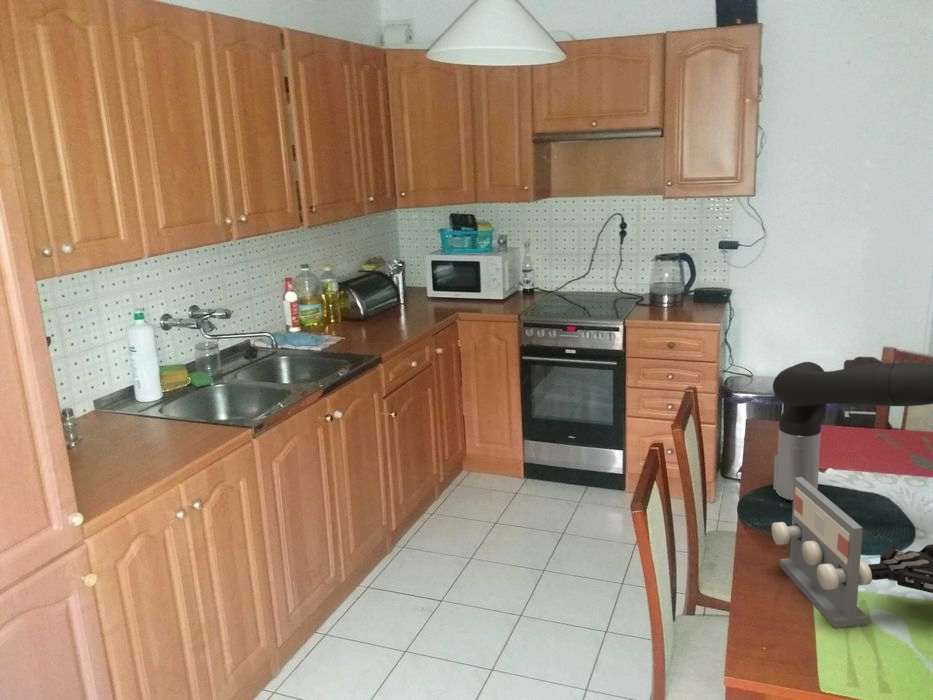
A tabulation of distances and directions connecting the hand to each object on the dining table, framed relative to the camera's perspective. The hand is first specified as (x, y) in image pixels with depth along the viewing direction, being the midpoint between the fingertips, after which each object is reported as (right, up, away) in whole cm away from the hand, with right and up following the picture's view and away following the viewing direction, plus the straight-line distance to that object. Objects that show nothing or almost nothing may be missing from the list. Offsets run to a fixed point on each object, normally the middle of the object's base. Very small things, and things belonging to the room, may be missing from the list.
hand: (865, 572), depth 136 cm
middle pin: (-3, 0, +8) cm, 9 cm away
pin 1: (-6, +2, +16) cm, 17 cm away
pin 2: (-4, -2, 0) cm, 4 cm away
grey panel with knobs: (-4, -7, +10) cm, 13 cm away
